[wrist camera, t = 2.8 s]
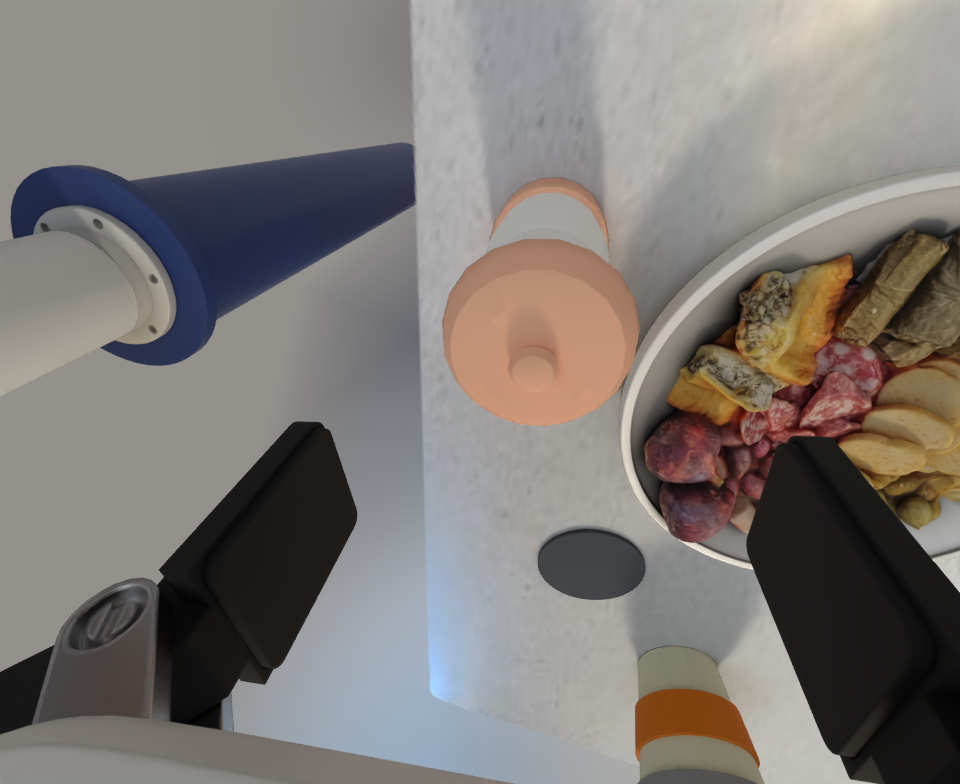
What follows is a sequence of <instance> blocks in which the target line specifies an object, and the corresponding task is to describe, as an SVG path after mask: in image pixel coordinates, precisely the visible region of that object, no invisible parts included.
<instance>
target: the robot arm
mask: <svg viewBox="0 0 960 784" xmlns="http://www.w3.org/2000/svg"><path fill="white" fill-rule="evenodd" d="M176 310H177V308H176V297H175V293H174V289H173V285H172V283H171V280H170V278H169V275H168V273H167V271H166V269H165V268H164V266H163V264H162V263H161V261H160V259H159V258H158V257H157V255H156V254H155V253H154V251H153V250H152V249H151V248H150V246H149V245H148V244H147V243H146V242H145V241H144V240H143V239H142V238H141V237H140V236H139V235H138V234H137V233H136V232H134V231H133V230H132V229H131V228H129V227H128V226H127V225H126V224H125V223H123V222H121V221H120V220H118V219H116V218H115V217H113V216H112V215H110V214H107V213H105V212H103V211H100V210H98V209H95V208H91V207H87V206H83V205H69V206H63V207H57V208H54V209H52V210H49V211H47V212H46V213H44V214H43V215H42V216H41V217H40V218H39V220H38V222H37V223H36V225H35V228H34V233H33V235H30V236H26V237H21V238H16V239H12V240H7V241H3V242H0V396H2V395H4V394H6V393H8V392H10V391H12V390H14V389H16V388H18V387H20V386H22V385H24V384H26V383H28V382H30V381H32V380H34V379H36V378H39V377H40V376H43V375H45V374H47V373H49V372H51V371H53V370H55V369H57V368H59V367H61V366H63V365H65V364H67V363H69V362H71V361H73V360H75V359H77V358H79V357H81V356H83V355H85V354H87V353H89V352H91V351H93V350H95V349H97V348H99V347H101V346H103V345H105V344H107V343H109V342H112V341H114V340H115V341H119V342H123V343H127V344H145V343H149V342H151V341H154V340H156V339H158V338H159V337H161V336H163V335H164V334H166V333H167V332H168V331H169V329H170V328H171V327H172V325H173V322H174V320H175V316H176ZM356 521H357V509H356V506H355V504H354V500H353V497H352V494H351V491H350V488H349V485H348V483H347V479H346V476H345V473H344V471H343V467H342V464H341V461H340V458H339V455H338V452H337V450H336V447H335V443H334V441H333V437H332V435H331V432H330V431H329V430H328V429H325V428H324V426H323V425H322V424H321V423H319V422H294V423H292V424H291V425H290V426H289V427H288V428H287V429H286V431H285V432H284V433H283V434H282V435H281V436H280V437H279V438H278V439H277V440H276V441H275V443H274V444H273V445H272V446H271V447H270V448H269V449H268V450H267V451H266V452H265V454H264V455H263V456H262V457H261V458H260V459H259V460H258V461H257V462H256V463H255V465H254V466H253V467H252V468H251V469H250V470H249V471H248V472H247V473H246V474H245V476H244V477H243V478H242V479H241V480H240V481H239V482H238V483H237V485H235V487H234V488H233V489H232V490H231V491H230V492H229V493H228V494H227V495H226V497H225V498H224V499H223V500H222V501H221V502H220V503H219V504H218V505H217V506H216V507H215V509H214V510H213V511H212V512H211V513H210V514H209V515H208V516H207V517H206V518H205V520H204V521H203V522H202V523H201V524H200V525H199V526H198V527H197V529H196V530H195V531H194V532H193V533H192V534H191V535H190V536H189V537H188V538H187V539H186V540H185V542H184V543H183V544H182V545H181V546H180V547H179V548H178V549H177V550H176V551H175V553H174V554H173V555H172V556H171V557H170V558H169V559H168V560H167V561H166V563H165V564H164V565H163V566H162V567H161V568H160V569H159V571H160V572H161V573H162V575H164V578H163V579H162V580H161V581H160V582H159V584H158V585H156V584H155V583H154V582H153V581H152V580H150V579H146V578H136V579H129V580H125V581H123V582H119V583H116V584H114V585H112V586H110V587H108V588H106V589H104V590H102V591H100V592H99V593H97V594H96V595H94V596H93V597H92V598H90V599H89V600H87V601H86V602H85V603H84V604H83V605H81V606H80V607H79V608H78V609H77V610H76V611H75V612H74V613H73V614H72V615H71V616H70V617H69V619H68V620H67V621H66V622H65V624H64V625H63V626H62V628H61V630H60V633H59V634H58V636H57V639H56V641H55V645H53V646H51V647H49V648H47V649H45V650H43V651H42V652H39V653H37V654H35V655H33V656H31V657H29V658H27V659H25V660H23V661H21V662H19V663H17V664H15V665H13V666H11V667H9V668H7V669H5V670H3V671H1V672H0V784H513V783H507V782H502V781H497V780H491V779H486V778H480V777H475V776H470V775H465V774H460V773H454V772H449V771H444V770H438V769H433V768H427V767H422V766H417V765H411V764H406V763H401V762H395V761H389V760H385V759H379V758H374V757H368V756H363V755H357V754H352V753H346V752H341V751H335V750H330V749H325V748H319V747H313V746H308V745H302V744H296V743H292V742H286V741H280V740H275V739H270V738H264V737H258V736H253V735H247V734H242V733H237V732H234V723H233V710H232V695H231V691H232V689H233V688H234V686H235V684H236V682H237V680H238V679H240V680H241V681H245V682H252V683H258V684H266V682H267V680H268V678H269V676H270V674H271V673H272V671H273V669H276V668H277V667H279V666H280V665H281V664H282V663H283V661H284V660H285V658H286V656H287V654H288V652H289V650H290V648H291V647H292V645H293V642H294V641H295V639H296V637H297V635H298V633H299V631H300V629H301V628H302V626H303V624H304V622H305V619H306V618H307V616H308V614H309V612H310V610H311V608H312V607H313V605H314V603H315V601H316V599H317V597H318V595H319V593H320V591H321V590H322V588H323V586H324V584H325V582H326V580H327V578H328V576H329V574H330V572H331V570H332V569H333V566H334V565H335V563H336V561H337V559H338V557H339V555H340V553H341V551H342V550H343V548H344V546H345V544H346V542H347V540H348V538H349V536H350V534H351V533H352V531H353V529H354V527H355V524H356ZM746 548H747V554H748V557H749V560H750V562H751V564H752V567H753V569H754V572H755V574H756V577H757V579H758V582H759V584H760V586H761V589H762V591H763V594H764V596H765V599H766V601H767V604H768V606H769V609H770V611H771V613H772V616H773V618H774V621H775V623H776V626H777V628H778V631H779V633H780V635H781V638H782V640H783V643H784V645H785V648H786V650H787V653H788V655H789V658H790V660H791V662H792V665H793V667H794V670H795V672H796V675H797V677H798V680H799V682H800V684H801V687H802V689H803V692H804V694H805V697H806V699H807V702H808V704H809V707H810V709H811V711H812V714H813V716H814V719H815V721H816V724H817V726H818V729H819V731H820V733H821V736H822V738H823V740H824V742H825V744H826V746H827V747H828V749H829V750H830V751H831V752H832V753H833V754H836V755H840V757H841V759H842V762H843V764H844V766H845V769H846V771H847V773H848V776H849V778H850V779H852V780H858V781H865V782H871V783H877V784H960V593H959V591H958V590H957V589H956V588H955V586H954V585H953V584H952V583H951V582H950V580H949V579H948V578H947V577H946V575H945V574H944V573H943V572H942V571H941V569H940V568H939V567H938V566H937V565H936V563H935V562H934V561H933V560H932V558H931V557H930V556H929V555H928V554H927V552H926V551H925V550H924V549H923V548H922V546H921V545H920V544H919V543H918V541H917V540H916V539H915V538H914V537H913V535H912V534H911V533H910V532H909V531H908V529H907V528H906V527H905V526H904V524H903V523H902V522H901V521H900V520H899V518H898V517H897V516H896V515H895V514H894V512H893V511H892V510H891V509H890V507H889V506H888V505H887V504H886V503H885V501H884V500H883V499H882V498H881V496H880V495H879V494H878V493H877V492H876V490H875V489H874V488H873V487H872V486H871V484H870V483H869V482H868V481H867V479H866V478H865V477H864V476H863V475H862V473H861V472H860V471H859V470H858V469H857V467H856V466H855V465H854V464H853V462H852V461H851V460H850V459H849V458H848V456H847V455H846V454H845V453H844V452H843V450H842V449H841V448H840V447H839V445H838V444H837V443H836V442H835V441H834V440H833V439H832V438H830V437H824V436H792V437H790V438H789V439H788V441H787V443H780V444H779V445H778V447H777V449H776V451H775V454H774V457H773V460H772V463H771V466H770V469H769V472H768V475H767V478H766V481H765V484H764V487H763V490H762V493H761V496H760V499H759V502H758V505H757V508H756V511H755V514H754V518H753V521H752V524H751V527H750V530H749V533H748V536H747V540H746Z"/></svg>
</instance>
